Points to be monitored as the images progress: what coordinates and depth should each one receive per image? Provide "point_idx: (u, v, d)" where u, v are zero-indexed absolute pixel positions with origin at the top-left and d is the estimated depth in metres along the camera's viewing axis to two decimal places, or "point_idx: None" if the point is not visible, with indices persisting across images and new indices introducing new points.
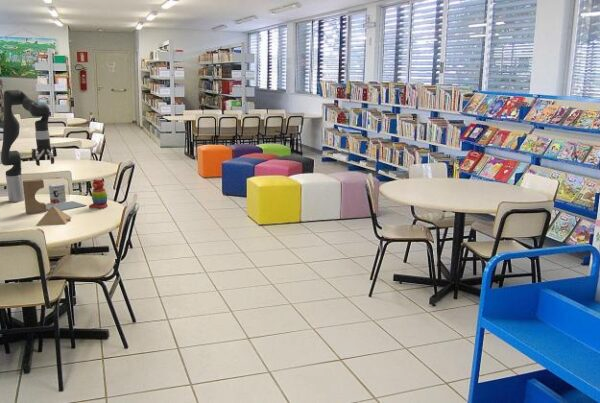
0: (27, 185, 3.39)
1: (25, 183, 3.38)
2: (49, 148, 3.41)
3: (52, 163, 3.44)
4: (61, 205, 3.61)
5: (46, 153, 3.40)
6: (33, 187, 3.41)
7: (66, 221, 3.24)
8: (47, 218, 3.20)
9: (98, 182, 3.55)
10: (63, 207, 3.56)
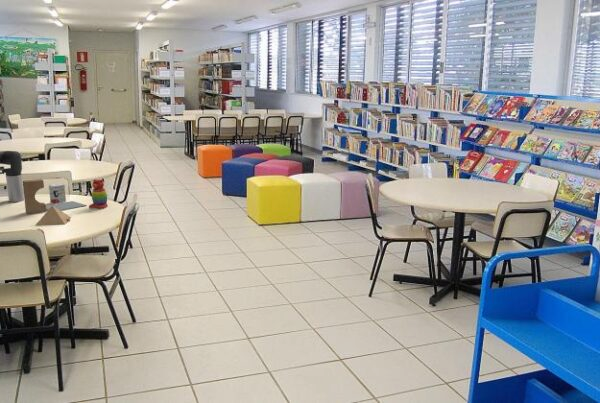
0: (27, 185, 3.39)
1: (25, 183, 3.38)
2: None
3: (9, 171, 3.25)
4: (61, 205, 3.61)
5: None
6: (33, 187, 3.41)
7: (65, 221, 3.24)
8: (47, 218, 3.20)
9: (98, 182, 3.55)
10: (63, 207, 3.56)
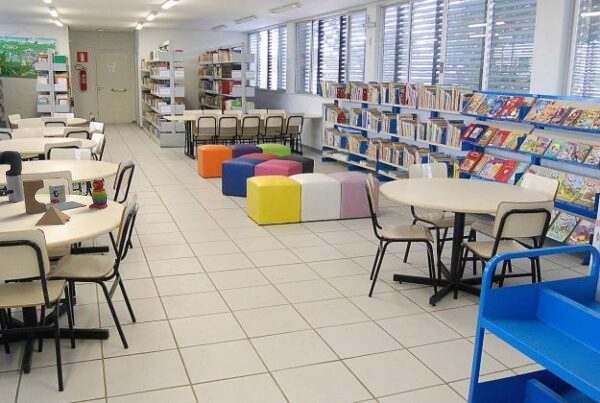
0: (27, 185, 3.39)
1: (25, 183, 3.38)
2: None
3: (12, 192, 3.30)
4: (61, 205, 3.61)
5: None
6: (33, 187, 3.41)
7: (65, 221, 3.24)
8: (46, 218, 3.20)
9: (98, 182, 3.55)
10: (63, 207, 3.56)
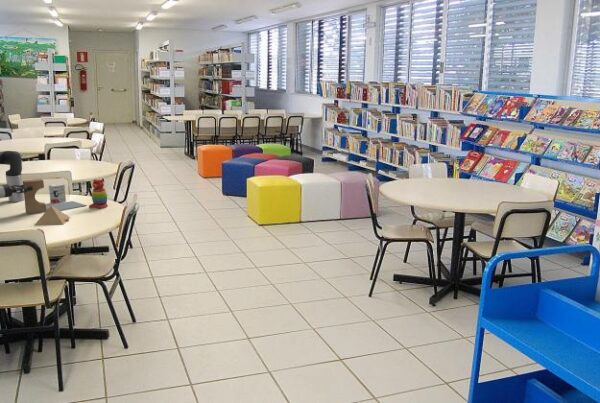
0: (27, 185, 3.39)
1: (25, 183, 3.38)
2: None
3: (31, 189, 3.39)
4: (61, 205, 3.61)
5: None
6: (33, 187, 3.41)
7: (64, 221, 3.24)
8: (45, 218, 3.20)
9: (98, 182, 3.55)
10: (63, 207, 3.56)
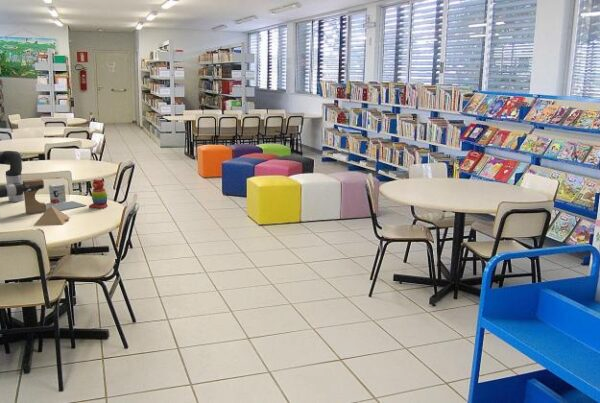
0: None
1: (25, 183, 3.38)
2: (26, 190, 3.37)
3: None
4: (61, 205, 3.61)
5: None
6: None
7: (64, 221, 3.24)
8: (45, 218, 3.20)
9: (98, 182, 3.55)
10: (63, 207, 3.56)
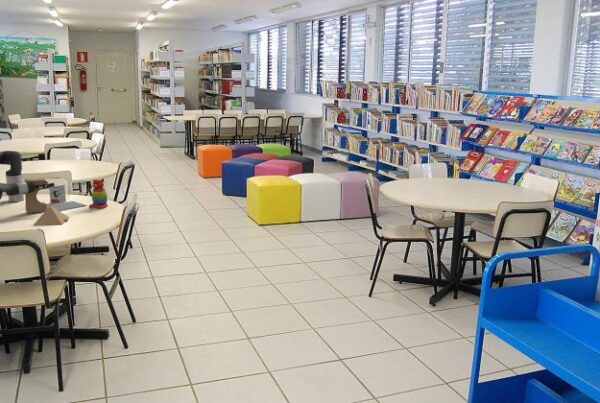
0: None
1: None
2: None
3: None
4: (61, 205, 3.61)
5: None
6: None
7: (63, 221, 3.23)
8: (44, 218, 3.20)
9: (98, 182, 3.55)
10: (63, 207, 3.56)
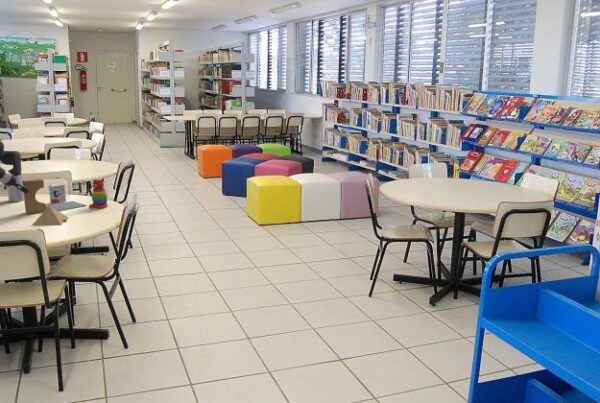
0: (28, 185, 3.39)
1: (25, 183, 3.38)
2: (14, 185, 3.31)
3: (25, 192, 3.39)
4: (61, 205, 3.61)
5: None
6: (34, 186, 3.41)
7: (62, 221, 3.23)
8: (43, 218, 3.20)
9: (98, 182, 3.55)
10: (63, 207, 3.56)
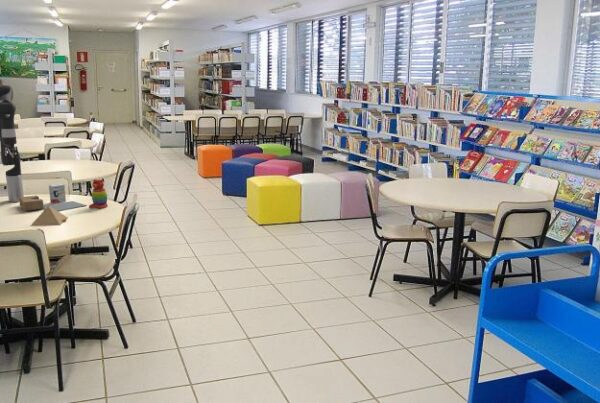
0: (23, 197, 3.61)
1: (20, 197, 3.61)
2: (10, 147, 3.38)
3: (13, 163, 3.40)
4: (61, 205, 3.61)
5: None
6: (28, 197, 3.61)
7: (61, 222, 3.23)
8: (42, 218, 3.20)
9: (98, 182, 3.55)
10: (63, 207, 3.56)
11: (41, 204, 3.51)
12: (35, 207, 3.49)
